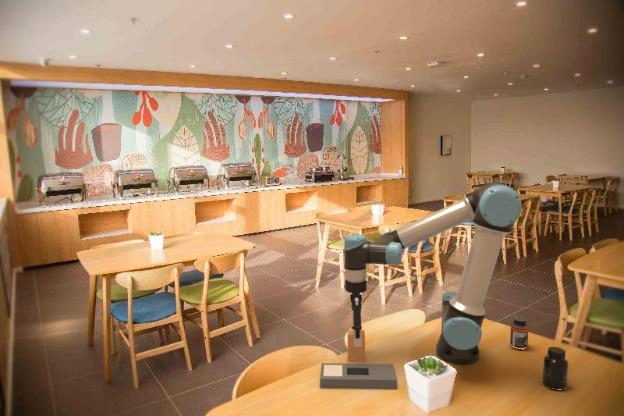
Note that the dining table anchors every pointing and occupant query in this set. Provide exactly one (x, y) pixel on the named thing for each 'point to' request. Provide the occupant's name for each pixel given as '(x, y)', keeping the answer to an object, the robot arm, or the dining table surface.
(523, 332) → the supplement bottle
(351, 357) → the plug
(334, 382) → the block
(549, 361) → the supplement bottle
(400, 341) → the dining table surface
